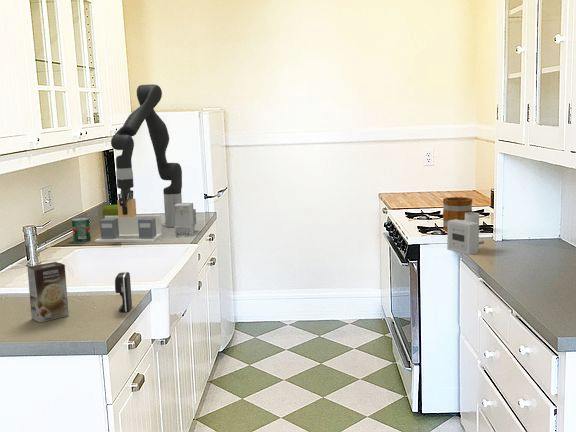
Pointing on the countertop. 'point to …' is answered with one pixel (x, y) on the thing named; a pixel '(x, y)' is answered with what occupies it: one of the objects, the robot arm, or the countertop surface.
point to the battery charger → (124, 290)
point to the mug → (455, 209)
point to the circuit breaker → (184, 219)
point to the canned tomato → (81, 230)
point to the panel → (133, 228)
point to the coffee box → (48, 291)
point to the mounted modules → (112, 230)
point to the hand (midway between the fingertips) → (127, 213)
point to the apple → (110, 210)
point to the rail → (126, 237)
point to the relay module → (128, 208)
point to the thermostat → (464, 234)
